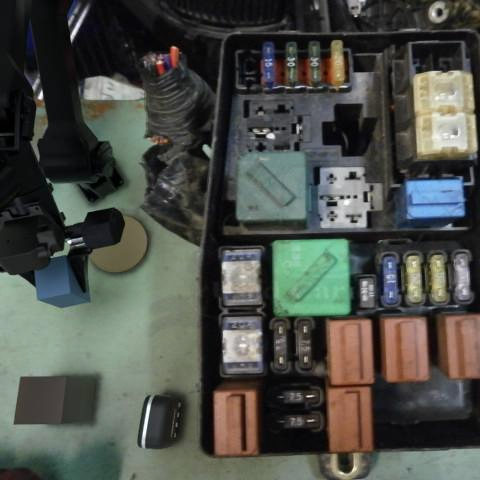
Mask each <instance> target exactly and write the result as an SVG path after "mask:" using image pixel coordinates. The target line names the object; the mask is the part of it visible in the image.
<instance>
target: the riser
mask: <svg viewBox="0 0 480 480" xmlns="http://www.w3.org/2000/svg"><path fill="white" fill-rule="evenodd" d="M96 386H97V378H90V377H79V376H69V375H59V376H58V375H49V376H48V375H47V376H46V375H45V376H44V375H41V376H39V375H34V376H33V375H31V376H27V375H26V376H23V375H22V376H21V375H20V377H19V382H18V389H17V397H16V404H15V410H14V418H13V425H14V426H17V425H18V426H19V425H21V426H22V425H23V426H26V425H28V426H29V425H66V424H74V423H83V422H92V421H93V414H94V406H95V397H96V396H95V395H96Z"/></svg>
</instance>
